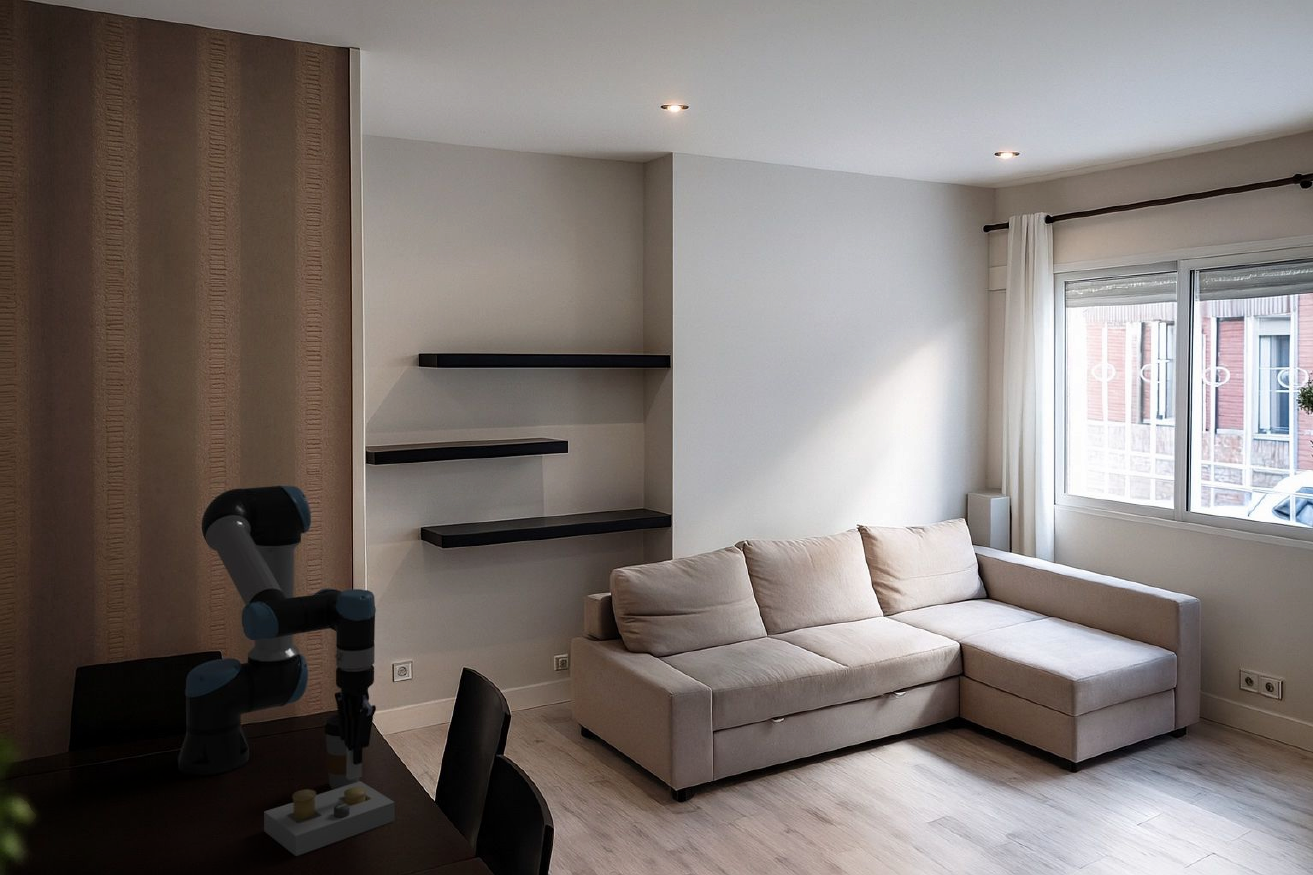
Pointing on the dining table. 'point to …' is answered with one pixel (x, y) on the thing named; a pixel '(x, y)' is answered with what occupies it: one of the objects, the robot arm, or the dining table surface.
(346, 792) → the knob
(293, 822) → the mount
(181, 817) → the dining table surface
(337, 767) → the coffee cup
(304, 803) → the knob
